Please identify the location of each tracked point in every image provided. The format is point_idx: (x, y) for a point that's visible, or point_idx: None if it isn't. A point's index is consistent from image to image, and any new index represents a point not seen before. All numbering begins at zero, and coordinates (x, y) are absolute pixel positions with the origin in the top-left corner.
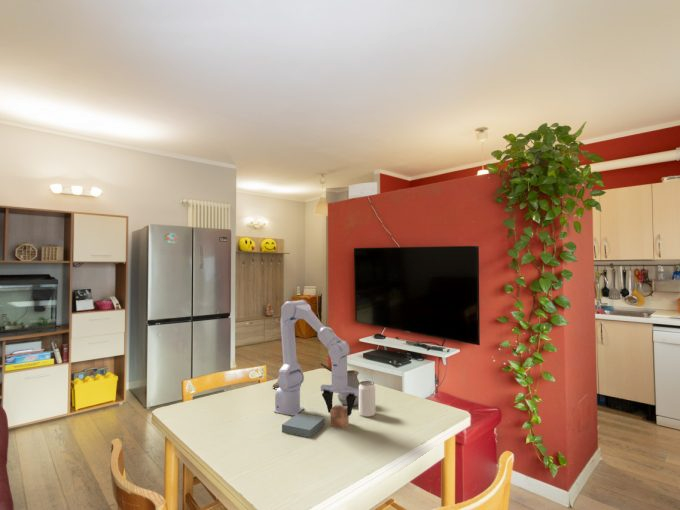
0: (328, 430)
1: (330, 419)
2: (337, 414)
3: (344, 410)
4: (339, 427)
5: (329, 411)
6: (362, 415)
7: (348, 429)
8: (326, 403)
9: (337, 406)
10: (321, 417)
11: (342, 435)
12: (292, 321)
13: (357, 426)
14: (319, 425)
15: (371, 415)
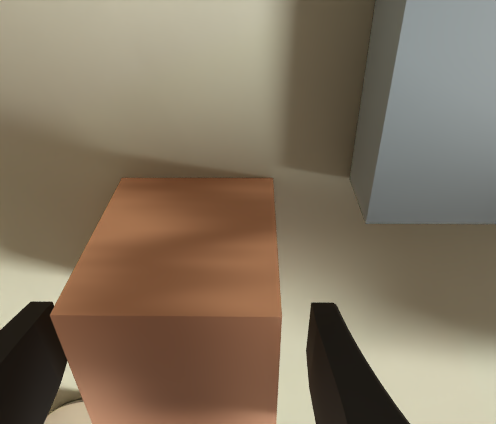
0: (245, 69)
1: (274, 218)
2: (163, 271)
3: (65, 348)
4: (164, 178)
5: (317, 312)
6: None
7: (60, 176)
8: (386, 407)
9: (229, 409)
10: (405, 221)
11: (15, 6)
12: None
13: (31, 258)
14: (377, 71)
15: (46, 418)
